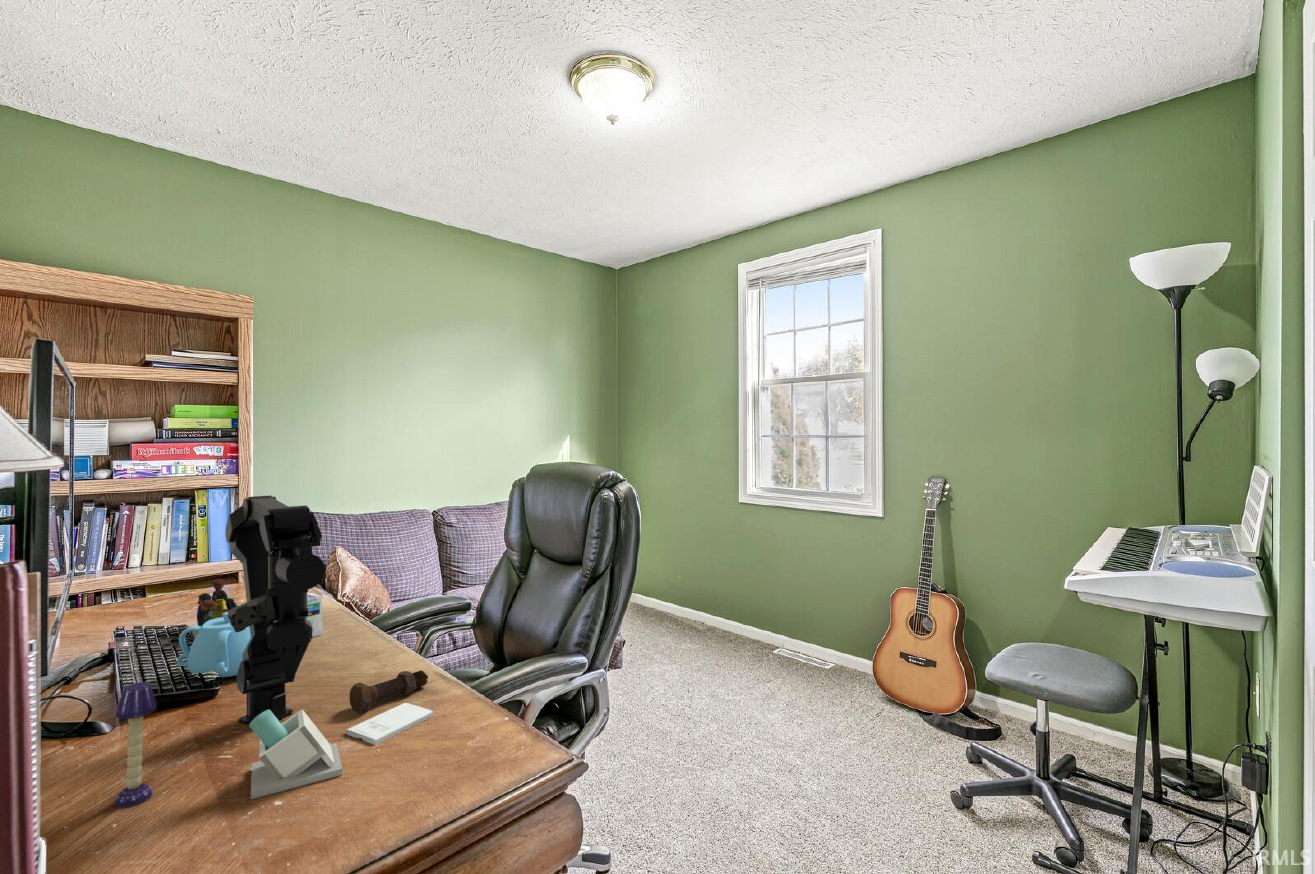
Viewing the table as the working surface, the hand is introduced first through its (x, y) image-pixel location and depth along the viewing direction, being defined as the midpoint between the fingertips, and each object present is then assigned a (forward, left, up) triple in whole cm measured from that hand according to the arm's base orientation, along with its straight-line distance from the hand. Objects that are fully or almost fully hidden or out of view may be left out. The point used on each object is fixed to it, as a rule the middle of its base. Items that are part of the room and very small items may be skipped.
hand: (288, 670), depth 106 cm
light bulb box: (-52, +43, -13) cm, 69 cm away
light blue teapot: (-43, +19, -13) cm, 49 cm away
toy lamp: (-7, -19, -13) cm, 24 cm away
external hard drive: (+10, +12, -14) cm, 21 cm away
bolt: (+2, +21, -14) cm, 25 cm away
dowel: (+8, -6, -11) cm, 15 cm away
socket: (+9, -5, -13) cm, 17 cm away
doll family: (-75, +36, -13) cm, 84 cm away
